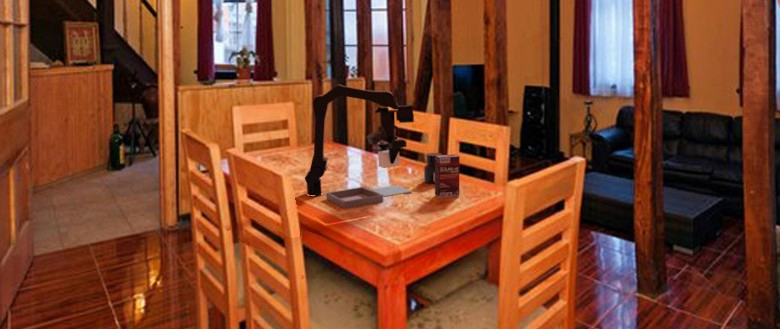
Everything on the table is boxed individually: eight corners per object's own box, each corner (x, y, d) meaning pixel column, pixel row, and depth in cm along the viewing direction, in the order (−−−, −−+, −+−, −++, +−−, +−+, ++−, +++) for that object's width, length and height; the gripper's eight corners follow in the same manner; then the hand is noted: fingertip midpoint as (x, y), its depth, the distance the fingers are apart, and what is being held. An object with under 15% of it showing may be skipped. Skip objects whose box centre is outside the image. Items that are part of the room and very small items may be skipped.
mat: (370, 191, 224) (370, 189, 224) (396, 187, 229) (395, 185, 229) (384, 197, 213) (384, 195, 213) (411, 193, 219) (411, 191, 219)
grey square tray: (326, 200, 212) (326, 192, 212) (363, 194, 220) (363, 186, 219) (344, 210, 199) (343, 202, 198) (383, 203, 206) (382, 195, 206)
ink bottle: (439, 185, 230) (438, 157, 228) (420, 183, 235) (419, 155, 232) (448, 180, 238) (448, 153, 236) (430, 178, 243) (430, 151, 240)
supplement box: (439, 198, 210) (438, 158, 207) (434, 195, 214) (434, 155, 211) (460, 196, 212) (460, 156, 209) (455, 193, 217) (455, 153, 213)
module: (378, 166, 219) (378, 151, 218) (394, 163, 222) (393, 149, 221) (384, 168, 215) (383, 153, 214) (399, 165, 218) (399, 150, 217)
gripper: (358, 123, 219) (360, 161, 223) (380, 128, 203) (382, 169, 207) (383, 120, 225) (384, 158, 228) (406, 125, 209) (407, 165, 212)
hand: (389, 162), depth 218 cm, fingers closed on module, 4 cm apart
